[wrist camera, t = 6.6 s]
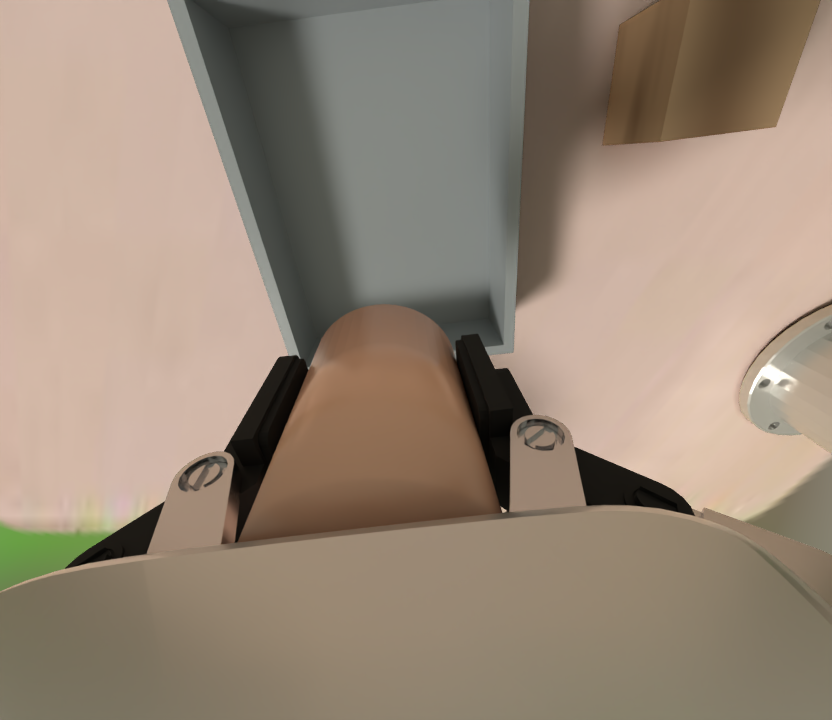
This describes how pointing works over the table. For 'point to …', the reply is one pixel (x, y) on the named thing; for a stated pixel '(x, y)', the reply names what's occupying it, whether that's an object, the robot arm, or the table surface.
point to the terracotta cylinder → (375, 434)
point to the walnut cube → (704, 68)
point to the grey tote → (371, 153)
